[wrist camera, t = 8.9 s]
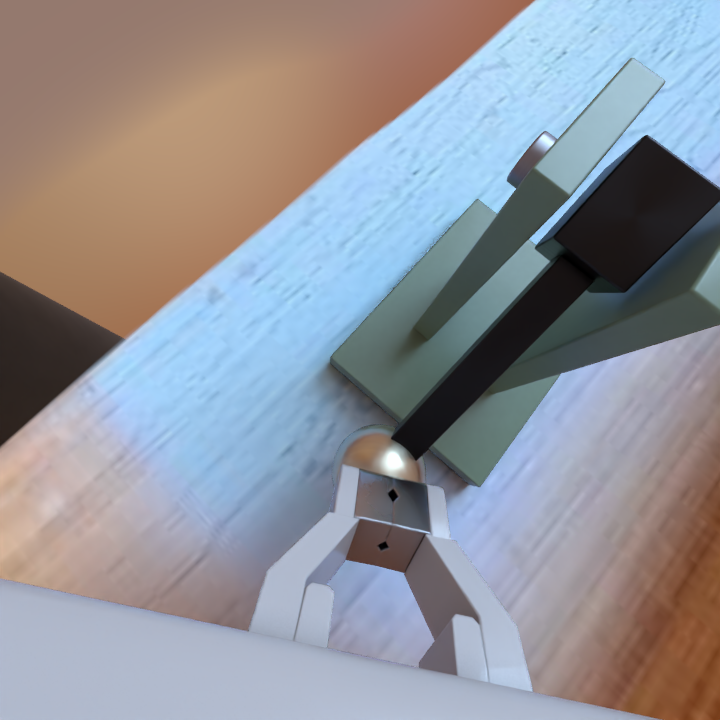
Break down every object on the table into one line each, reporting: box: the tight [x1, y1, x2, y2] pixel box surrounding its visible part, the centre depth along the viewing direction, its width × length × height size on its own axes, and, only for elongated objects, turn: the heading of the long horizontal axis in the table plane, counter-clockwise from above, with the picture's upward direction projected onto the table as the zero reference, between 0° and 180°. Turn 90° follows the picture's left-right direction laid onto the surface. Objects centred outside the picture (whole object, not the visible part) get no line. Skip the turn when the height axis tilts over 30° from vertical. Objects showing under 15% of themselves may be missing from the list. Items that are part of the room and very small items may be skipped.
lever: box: [332, 135, 720, 488], centre depth 11 cm, size 13×3×3 cm, turn 139°
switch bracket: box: [330, 58, 720, 487], centre depth 14 cm, size 12×9×12 cm
